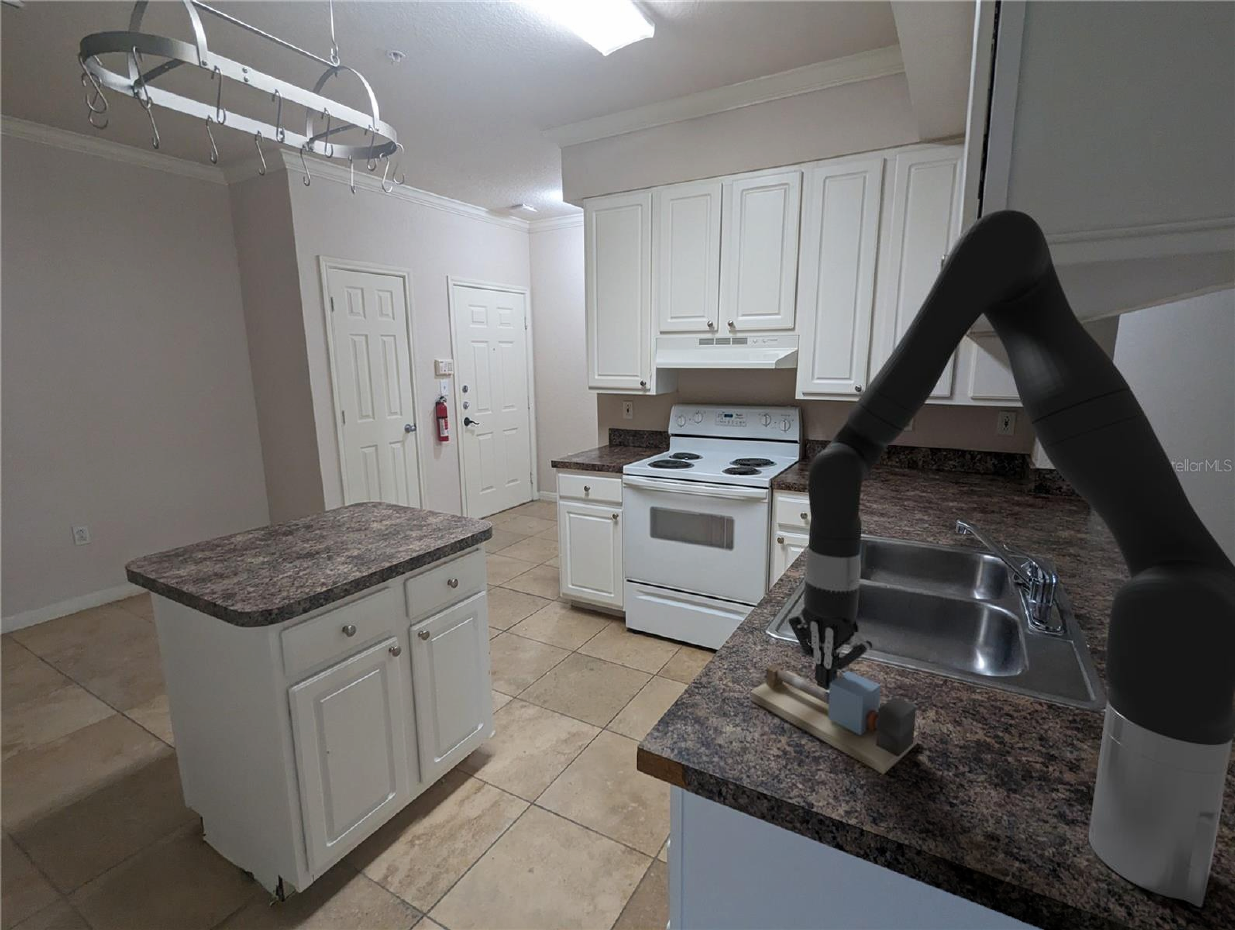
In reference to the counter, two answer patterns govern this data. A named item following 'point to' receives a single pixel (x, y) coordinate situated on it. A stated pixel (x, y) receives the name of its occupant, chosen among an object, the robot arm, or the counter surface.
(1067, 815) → the counter surface
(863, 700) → the blue sleeve
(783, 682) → the rail board
